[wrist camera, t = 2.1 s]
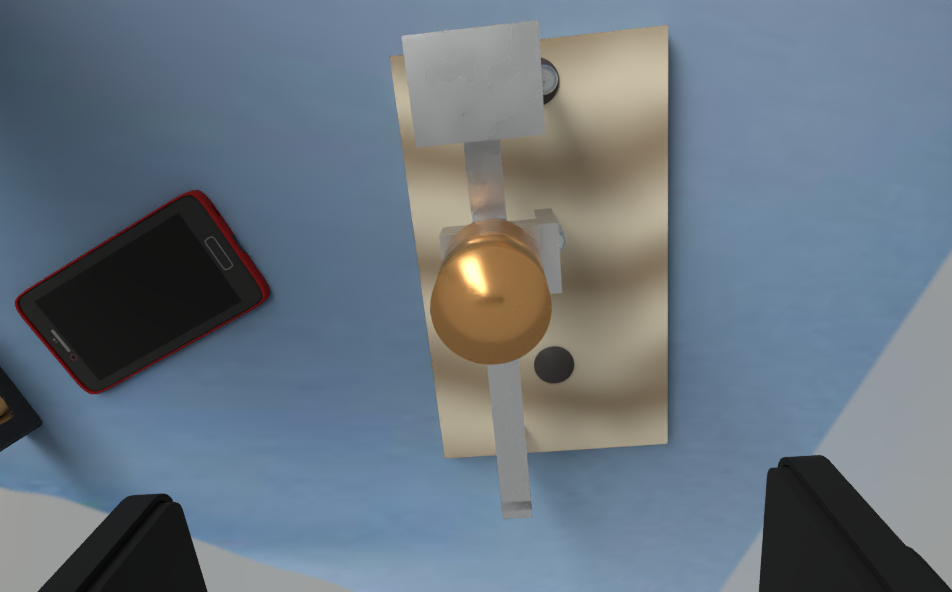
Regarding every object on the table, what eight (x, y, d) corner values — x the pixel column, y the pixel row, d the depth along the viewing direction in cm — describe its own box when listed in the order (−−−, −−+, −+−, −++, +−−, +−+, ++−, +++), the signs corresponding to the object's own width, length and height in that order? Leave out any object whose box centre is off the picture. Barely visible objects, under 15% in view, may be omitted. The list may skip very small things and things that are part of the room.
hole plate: (394, 57, 32) (389, 56, 30) (660, 28, 31) (668, 24, 29) (446, 445, 39) (444, 459, 38) (661, 430, 39) (668, 444, 37)
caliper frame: (428, 51, 30) (401, 35, 22) (544, 38, 30) (563, 17, 21) (474, 442, 38) (467, 545, 29) (568, 436, 37) (589, 538, 29)
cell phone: (278, 293, 37) (272, 298, 36) (98, 393, 40) (89, 400, 39) (202, 183, 35) (194, 185, 34) (18, 296, 38) (6, 301, 37)
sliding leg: (453, 190, 32) (422, 255, 19) (553, 180, 32) (592, 240, 19) (461, 261, 33) (437, 368, 20) (558, 252, 33) (597, 356, 20)
